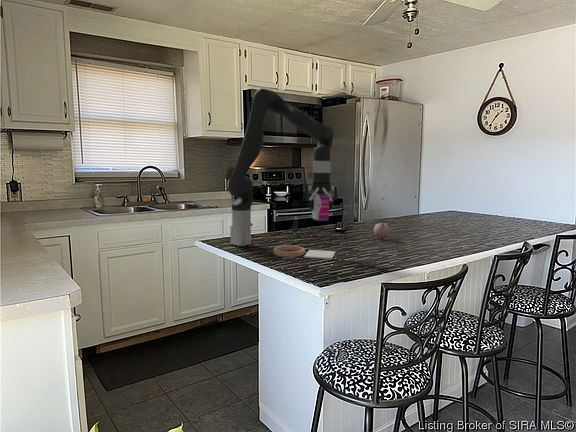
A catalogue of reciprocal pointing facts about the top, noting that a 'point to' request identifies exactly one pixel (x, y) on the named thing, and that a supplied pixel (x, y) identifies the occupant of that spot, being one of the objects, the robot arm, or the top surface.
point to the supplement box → (320, 207)
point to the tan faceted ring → (281, 252)
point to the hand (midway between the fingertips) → (320, 209)
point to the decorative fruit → (381, 230)
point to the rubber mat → (320, 254)
